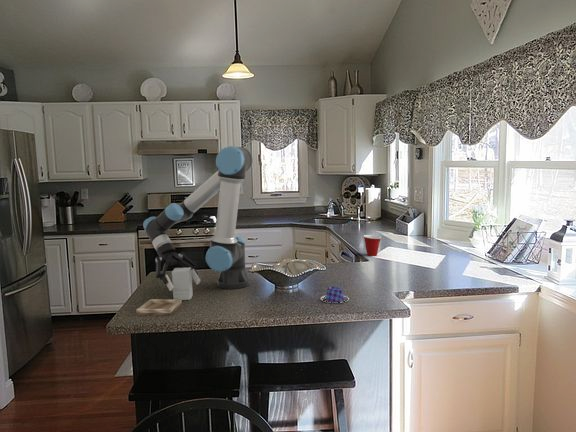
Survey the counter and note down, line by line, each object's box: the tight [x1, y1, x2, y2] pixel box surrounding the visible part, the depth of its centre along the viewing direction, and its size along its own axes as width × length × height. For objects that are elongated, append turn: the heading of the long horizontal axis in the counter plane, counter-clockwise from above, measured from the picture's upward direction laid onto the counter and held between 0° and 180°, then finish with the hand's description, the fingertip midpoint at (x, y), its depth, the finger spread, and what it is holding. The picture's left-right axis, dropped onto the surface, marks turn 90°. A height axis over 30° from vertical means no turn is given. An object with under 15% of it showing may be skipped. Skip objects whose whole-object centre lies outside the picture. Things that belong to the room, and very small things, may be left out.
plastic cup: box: [363, 234, 382, 257], centre depth 283 cm, size 11×11×12 cm
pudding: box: [319, 286, 350, 304], centre depth 196 cm, size 12×12×5 cm
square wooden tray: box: [135, 298, 184, 316], centre depth 187 cm, size 14×14×2 cm
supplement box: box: [171, 267, 194, 301], centre depth 202 cm, size 7×7×13 cm
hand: (185, 285), depth 200 cm, fingers open, 13 cm apart
